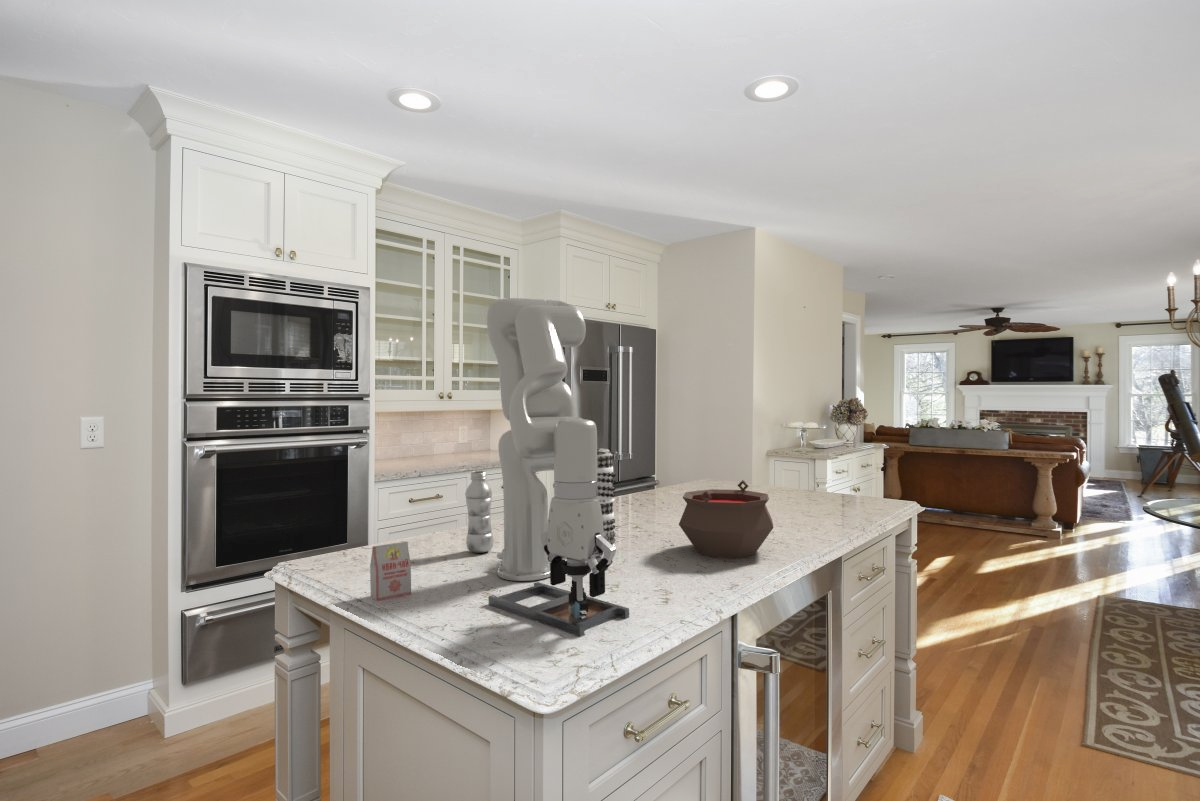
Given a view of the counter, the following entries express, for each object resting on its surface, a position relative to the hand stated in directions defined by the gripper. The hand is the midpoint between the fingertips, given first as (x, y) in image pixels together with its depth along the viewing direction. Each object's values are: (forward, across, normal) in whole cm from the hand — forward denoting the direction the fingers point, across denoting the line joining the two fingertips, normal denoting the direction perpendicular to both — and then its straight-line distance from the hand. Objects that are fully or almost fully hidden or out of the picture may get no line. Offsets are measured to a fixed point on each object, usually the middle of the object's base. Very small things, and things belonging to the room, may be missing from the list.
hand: (577, 589), depth 110 cm
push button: (+5, 0, 0) cm, 5 cm away
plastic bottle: (+6, -52, +17) cm, 55 cm away
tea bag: (+5, -37, -15) cm, 40 cm away
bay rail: (+5, -5, 0) cm, 7 cm away
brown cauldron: (+5, -6, +57) cm, 57 cm away
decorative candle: (+6, -33, +40) cm, 52 cm away
